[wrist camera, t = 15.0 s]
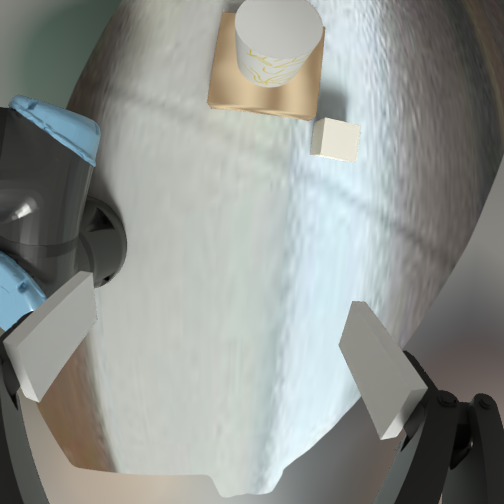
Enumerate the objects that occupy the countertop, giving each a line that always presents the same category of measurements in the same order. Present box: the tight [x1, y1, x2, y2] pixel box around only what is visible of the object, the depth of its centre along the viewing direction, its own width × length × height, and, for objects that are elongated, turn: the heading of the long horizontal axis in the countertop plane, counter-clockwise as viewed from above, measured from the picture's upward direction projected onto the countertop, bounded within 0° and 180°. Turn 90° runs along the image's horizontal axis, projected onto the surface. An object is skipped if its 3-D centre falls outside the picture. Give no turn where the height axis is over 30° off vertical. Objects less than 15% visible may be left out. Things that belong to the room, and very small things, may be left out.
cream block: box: [310, 118, 361, 162], centre depth 38 cm, size 5×5×6 cm
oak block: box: [207, 12, 325, 121], centre depth 34 cm, size 14×14×5 cm
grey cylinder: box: [235, 0, 323, 87], centre depth 26 cm, size 8×8×12 cm
